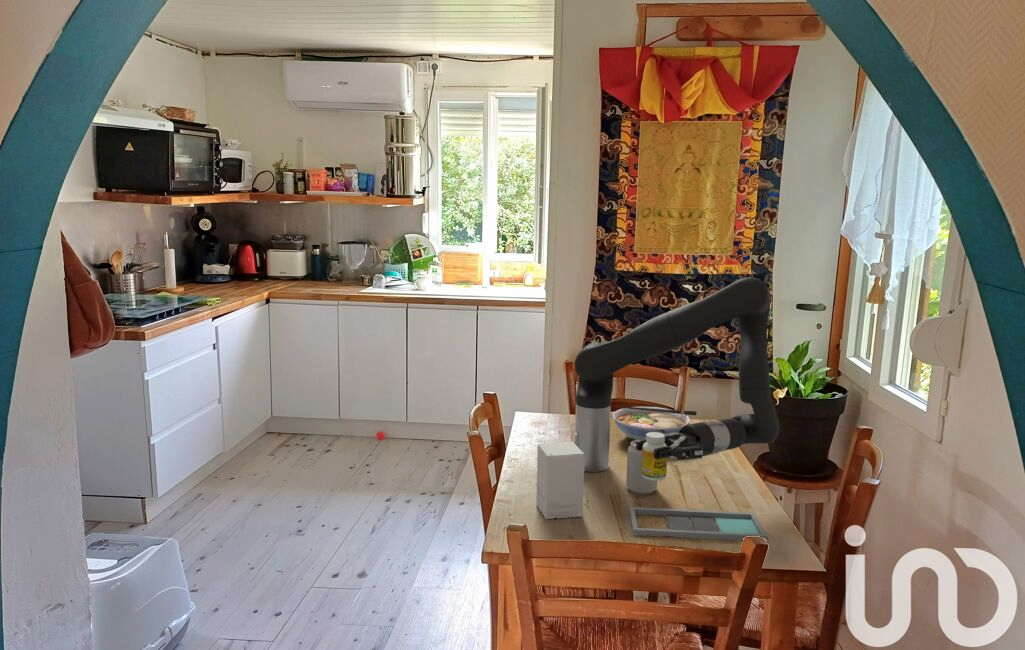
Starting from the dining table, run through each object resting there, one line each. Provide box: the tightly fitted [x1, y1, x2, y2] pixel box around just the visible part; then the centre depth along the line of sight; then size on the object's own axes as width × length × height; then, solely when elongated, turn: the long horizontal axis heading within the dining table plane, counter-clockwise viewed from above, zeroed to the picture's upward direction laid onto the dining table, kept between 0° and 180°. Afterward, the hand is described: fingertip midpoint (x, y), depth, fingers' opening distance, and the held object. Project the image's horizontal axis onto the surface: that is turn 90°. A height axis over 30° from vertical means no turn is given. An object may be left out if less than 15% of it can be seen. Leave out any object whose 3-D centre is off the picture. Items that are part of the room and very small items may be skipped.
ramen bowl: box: [612, 405, 697, 443], centre depth 223 cm, size 25×23×8 cm
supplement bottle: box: [642, 432, 668, 482], centre depth 164 cm, size 5×5×10 cm
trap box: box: [628, 506, 769, 541], centre depth 166 cm, size 28×12×1 cm, turn 86°
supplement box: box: [536, 441, 585, 520], centre depth 172 cm, size 9×9×15 cm
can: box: [625, 439, 658, 495], centre depth 185 cm, size 8×8×12 cm
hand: (646, 450), depth 162 cm, fingers closed on supplement bottle, 5 cm apart
